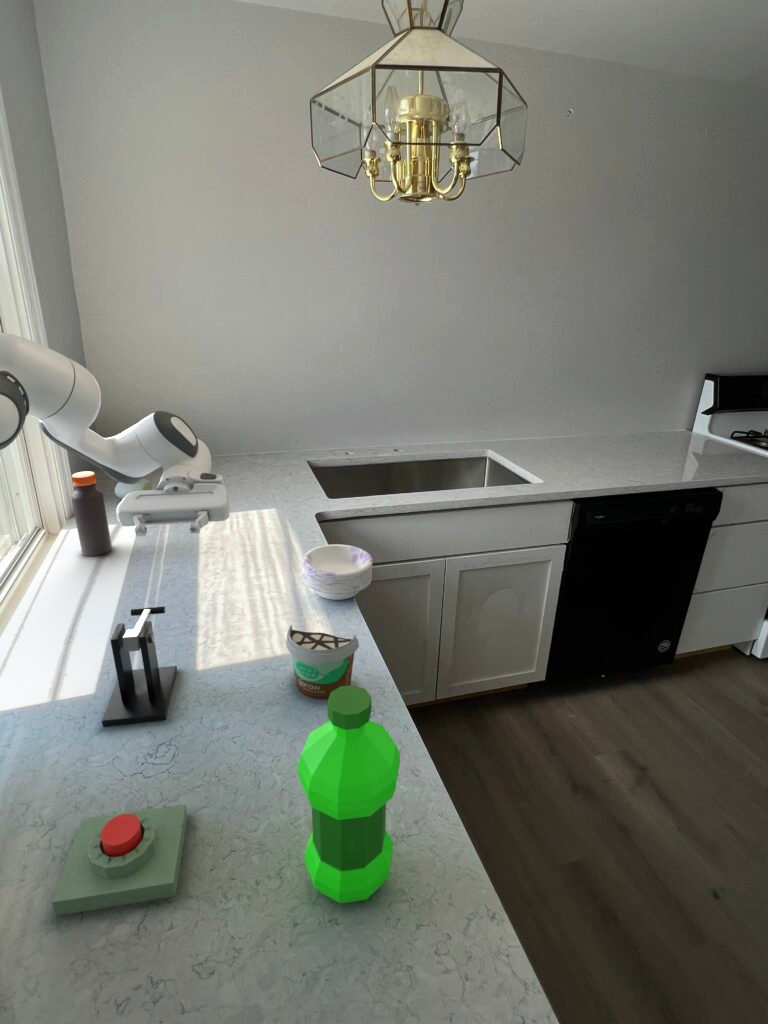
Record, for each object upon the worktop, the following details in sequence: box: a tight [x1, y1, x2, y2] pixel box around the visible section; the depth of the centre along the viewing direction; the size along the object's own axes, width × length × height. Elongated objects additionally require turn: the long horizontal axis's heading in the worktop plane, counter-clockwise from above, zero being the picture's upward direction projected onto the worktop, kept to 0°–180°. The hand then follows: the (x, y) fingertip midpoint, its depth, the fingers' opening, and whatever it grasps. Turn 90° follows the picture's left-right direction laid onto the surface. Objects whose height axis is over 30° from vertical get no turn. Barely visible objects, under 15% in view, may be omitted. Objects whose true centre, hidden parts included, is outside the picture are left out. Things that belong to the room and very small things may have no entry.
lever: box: [122, 606, 167, 653], centre depth 91 cm, size 13×6×2 cm, turn 11°
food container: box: [285, 624, 360, 700], centre depth 90 cm, size 12×6×10 cm, turn 76°
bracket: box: [101, 620, 178, 728], centre depth 87 cm, size 12×9×13 cm
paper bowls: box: [302, 543, 373, 601], centre depth 122 cm, size 15×15×8 cm
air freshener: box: [114, 477, 153, 500], centre depth 171 cm, size 11×8×10 cm
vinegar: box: [70, 470, 113, 557], centre depth 135 cm, size 7×7×20 cm
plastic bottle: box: [296, 684, 401, 904], centre depth 59 cm, size 10×10×25 cm
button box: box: [51, 804, 189, 917], centre depth 63 cm, size 12×10×4 cm
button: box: [101, 814, 142, 857], centre depth 62 cm, size 4×4×2 cm
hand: (167, 531), depth 100 cm, fingers open, 8 cm apart
